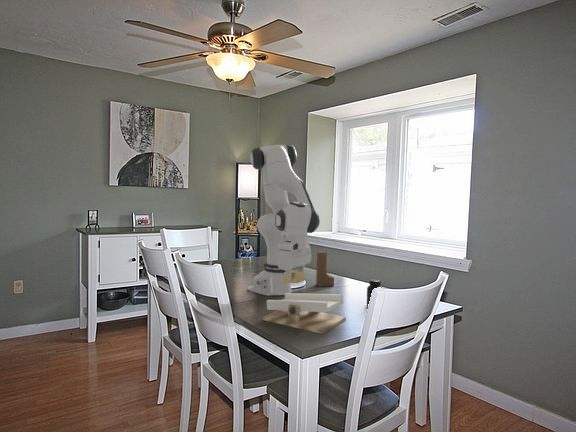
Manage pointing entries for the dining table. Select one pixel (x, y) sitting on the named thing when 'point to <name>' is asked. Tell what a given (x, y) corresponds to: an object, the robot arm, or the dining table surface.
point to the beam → (307, 302)
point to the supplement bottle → (373, 284)
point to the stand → (305, 319)
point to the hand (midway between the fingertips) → (294, 277)
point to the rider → (294, 276)
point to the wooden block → (323, 271)
